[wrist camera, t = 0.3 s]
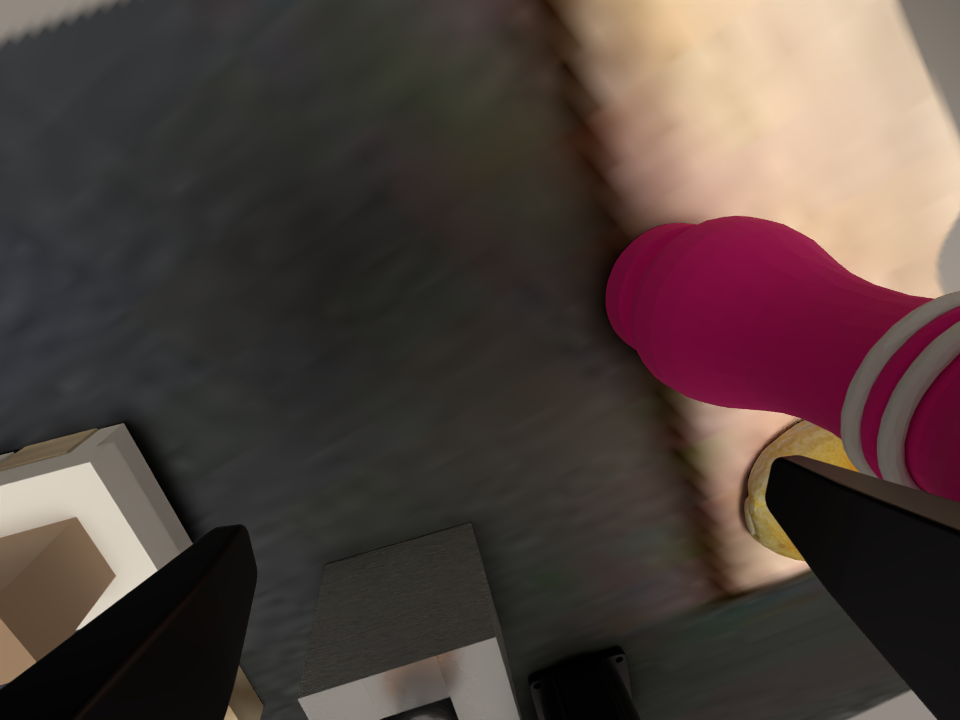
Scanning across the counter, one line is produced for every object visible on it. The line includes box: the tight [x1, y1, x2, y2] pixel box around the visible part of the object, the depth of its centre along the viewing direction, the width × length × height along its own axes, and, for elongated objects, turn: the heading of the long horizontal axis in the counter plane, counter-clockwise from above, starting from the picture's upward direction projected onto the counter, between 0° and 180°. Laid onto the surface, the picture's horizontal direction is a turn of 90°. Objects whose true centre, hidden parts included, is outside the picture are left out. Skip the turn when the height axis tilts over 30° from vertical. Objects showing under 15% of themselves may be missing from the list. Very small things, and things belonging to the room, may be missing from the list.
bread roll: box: [744, 420, 860, 561], centre depth 26 cm, size 8×9×4 cm
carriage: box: [0, 423, 193, 685], centre depth 18 cm, size 7×7×8 cm
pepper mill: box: [606, 216, 960, 502], centre depth 13 cm, size 7×7×20 cm
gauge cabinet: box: [298, 522, 522, 720], centre depth 23 cm, size 8×8×7 cm
